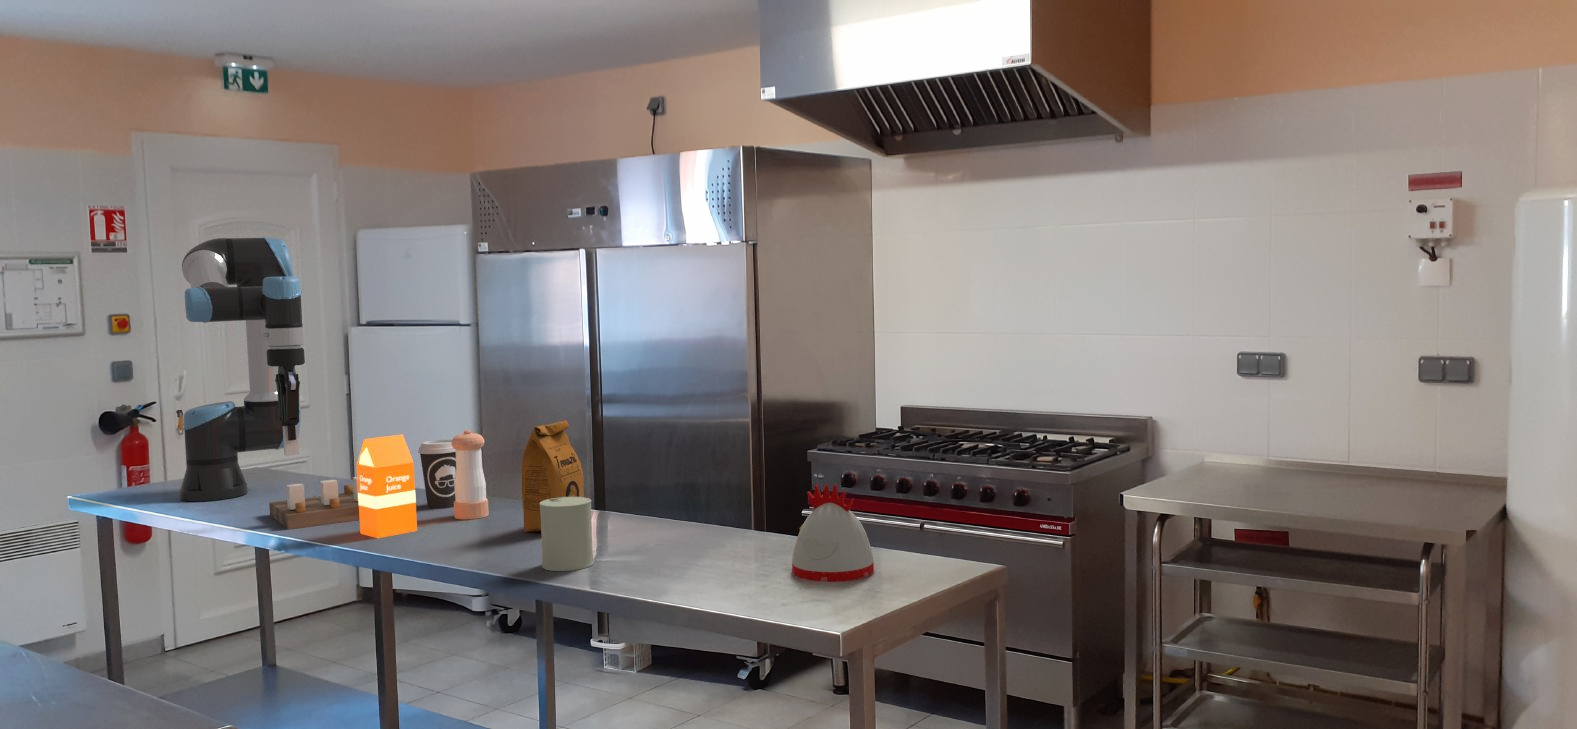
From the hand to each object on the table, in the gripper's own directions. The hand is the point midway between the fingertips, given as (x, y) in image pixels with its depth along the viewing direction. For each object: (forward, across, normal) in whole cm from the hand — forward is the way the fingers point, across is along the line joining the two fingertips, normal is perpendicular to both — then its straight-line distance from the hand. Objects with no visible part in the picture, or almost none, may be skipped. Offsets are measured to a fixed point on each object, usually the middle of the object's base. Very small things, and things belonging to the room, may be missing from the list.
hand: (291, 454), depth 247 cm
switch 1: (+12, +2, 0) cm, 12 cm away
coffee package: (+15, +47, +41) cm, 64 cm away
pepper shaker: (+15, +22, +32) cm, 42 cm away
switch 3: (+12, +2, +14) cm, 18 cm away
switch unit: (+15, -2, +7) cm, 17 cm away
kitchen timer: (+14, +113, +63) cm, 130 cm away
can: (+15, +78, +30) cm, 85 cm away
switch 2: (+12, +2, +7) cm, 14 cm away
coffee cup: (+15, +5, +31) cm, 35 cm away
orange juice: (+15, +26, +13) cm, 33 cm away
